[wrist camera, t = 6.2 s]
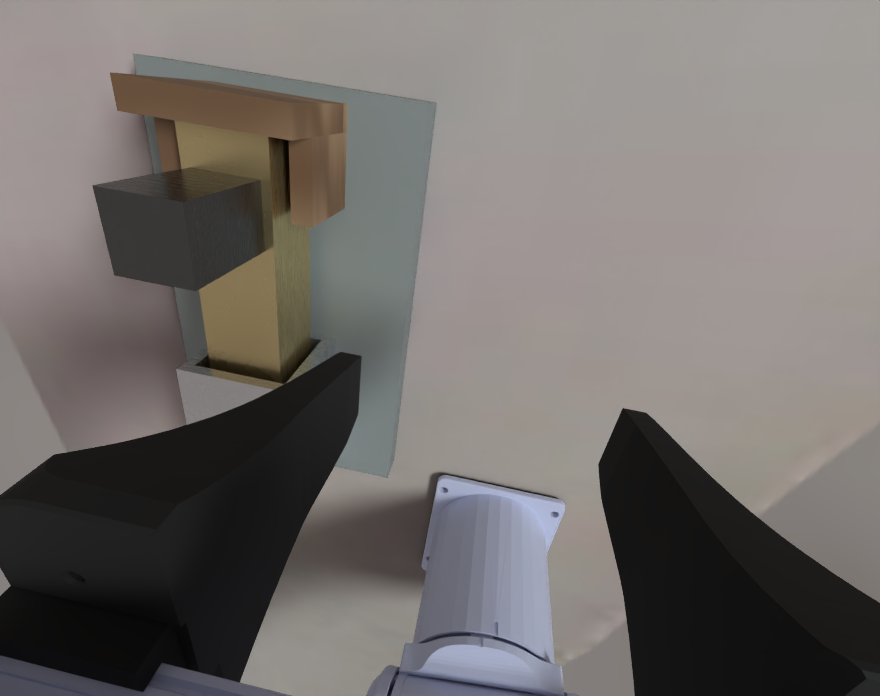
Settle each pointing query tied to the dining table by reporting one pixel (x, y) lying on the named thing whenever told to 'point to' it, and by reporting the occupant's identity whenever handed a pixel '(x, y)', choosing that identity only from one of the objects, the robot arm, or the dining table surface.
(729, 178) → the dining table surface
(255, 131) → the walnut socket
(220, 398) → the aluminium sleeve
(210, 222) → the brushed brass bar
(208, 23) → the dining table surface
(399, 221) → the slate board
